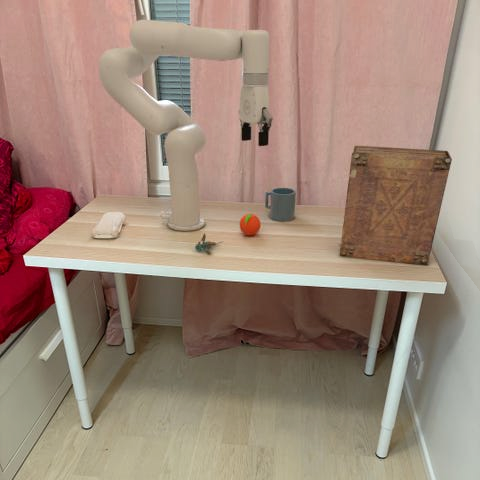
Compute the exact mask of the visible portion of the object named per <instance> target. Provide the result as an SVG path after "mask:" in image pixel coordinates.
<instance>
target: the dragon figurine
mask: <svg viewBox="0 0 480 480" xmlns="http://www.w3.org/2000/svg"><path fill="white" fill-rule="evenodd" d="M206 238H207V235H206V233H205V232H204V233H203V235H202V237H201V239H200V241H198V243H197V244H196V245H195V247H194V249H195V250H197V251H200V252H203V251H205V252H206V253H208V254H210V255H211V253H212V252H211V250H209V249H210V248H212V247H213V246H216V245H219V244H222V243H223V241H219V242H217V243H216V242H215V241H208V240H207V241H206Z"/></svg>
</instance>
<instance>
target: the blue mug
mask: <svg viewBox="0 0 480 480" xmlns="http://www.w3.org/2000/svg"><path fill="white" fill-rule="evenodd" d="M296 194H297V191H296V190H295V189H293V188H290V187H275V188H272V189H271V190H270V191H268V190H267V191H265V196H264V197H265V199H264V208H265V209H267V210H269V215H270V216H269V217H270V219H272V220H273V221H277V222H290V221H292V220H294V219H295V213H296V211H295V210H296V198H297V197H296V196H297V195H296ZM269 196H270V205H269Z"/></svg>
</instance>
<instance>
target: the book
mask: <svg viewBox="0 0 480 480" xmlns="http://www.w3.org/2000/svg"><path fill="white" fill-rule="evenodd" d="M452 161H453V159H452V156H451V154H450V152H449V151H448V150H440V149H439V150H437V149H425V148H424V149H422V148H408V147H407V148H406V147H391V146H390V147H388V146H387V147H386V146H373V145H371V146H370V145H354V147H353V151H352V152H351V157H350V165H349V175H348V183H347V190H346V200H345V207H344V216H343V225H342V233H341V240H340V241H341V242H340V249H339V256H340V257H345V258H346V257H347V258H354V259H363V260H365V259H366V260H375V261H382V262H383V261H384V262H392V263H393V262H394V263H403V264H411V265H422V266H428V265H429V261H430V256H431V252H432V247H433V243H434V238H435V234H436V230H437V226H438V225H437V224H438V221H439V217H440V213H441V208H442V203H443V200H444V196H445V191H446V186H447V182H448V178H449V173H450V168H451V166H452Z"/></svg>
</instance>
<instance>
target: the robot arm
mask: <svg viewBox="0 0 480 480" xmlns="http://www.w3.org/2000/svg"><path fill="white" fill-rule="evenodd" d="M128 35H129V37H128V38H129V42H130V44H129V45H128V46H126V47H114V48H110V49H107V50H106V51H104V52H103V53H102V54H101V55H100V58H99V61H98V75H99V80H100V82H101V85H102V87H103V89H104V91H106V93H107V94H108V95H109V96H110V97H111V99H113V100H114V101H115V102H116V103H117V104H118V105H119V106H120V107H122V108H123V109H124V110H125V111H126V112H127V113H128V114H129V115H130V116H131V117H132V118H133V119H134V120H135V121H136V122H137V123H139V125H140V126H142V127H143V128H144V129H145V130H146V131H147V132H148V133H149V134H151V135H154V136H161V135H164V134H167V135H166V136H165V140H164V145H163V146H164V147H163V148H164V154H165V159H166V162H167V169H168V180H169V191H170V192H169V193H170V207H171V210H170V211H160V214H159V215H160V217H161V219H162V220H168V221H167V226H168V228H169V229H171V230H175V231H180V232H191V231H196V230H199V229H201V228H203V227H204V226H205V219H203V218H202V217H201V212H200V211H201V210H200V209H201V208H200V192H199V191H200V188H199V187H200V186H199V170H198V165H197V161H196V160H197V159H196V155H197V154H198V153H200V152H201V151H202V150H203V149H204V148H205V144H206V140H207V139H206V134H205V132H204V130H203V129H202V127H201V126H200V125H199V124H198V123H197V122H196V121H195V120H194V119H193V118H192V117H191V116H189V114H188V113H186V112H185V111H184V110H183V109H182V108H181V107H180V106H179V105H178V104H176V103H175V102H173V101H171V100H167V99H162V100H156V99H155V98H154V97H153V96H152V95H151V94H149V93H148V92H147V91H146V90H145V89H144V88H143V87H142V86H141V85H139V84H137V83H136V82H134V81H133V80H132V79H135V78H137V77H139V76H142V75H143V74H144V73H145V72H146V71H147V70H148V69H149V68H150V67H151V66H152V65H153V64H154V63H155V61H157V60H158V58H159V57H160V56H169V57H170V56H171V57H177V58H185V59H187V58H191V59H198V60H199V59H200V60H206V61H207V60H208V61H218V62H225V61H226V62H227V61H232V60H233V61H234V60H238V59H239V60H240V59H241V87H240V96H239V109H238V115H239V116H238V117H239V121H240V127H241V141H243V142H247V141H251V140H252V126H251V125H257V127H258V130H259V131H258V134H257V135H258V136H257V137H258V138H257V139H258V140H257V143H258V144H257V145H258V147H265V146H268V145H269V132H270V130H271V127H272V122H273V120H274V117H273V115H272V114H271V112H270V93H269V76H270V75H269V69H270V68H269V67H270V33H269V32H268V31H267V30H265V29H247V30H240V29H232V28H214V27H213V28H211V27H201V26H194V25H189V24H187V23H185V22H179V21H164V20H155V19H138V20H137V21H135V22H133V24H132V25H131V26H130V29H129V34H128Z"/></svg>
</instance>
